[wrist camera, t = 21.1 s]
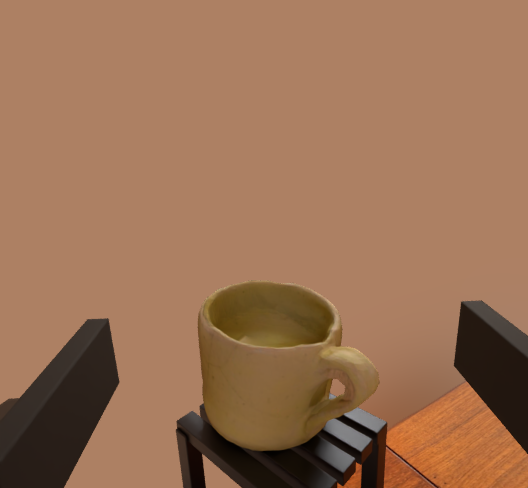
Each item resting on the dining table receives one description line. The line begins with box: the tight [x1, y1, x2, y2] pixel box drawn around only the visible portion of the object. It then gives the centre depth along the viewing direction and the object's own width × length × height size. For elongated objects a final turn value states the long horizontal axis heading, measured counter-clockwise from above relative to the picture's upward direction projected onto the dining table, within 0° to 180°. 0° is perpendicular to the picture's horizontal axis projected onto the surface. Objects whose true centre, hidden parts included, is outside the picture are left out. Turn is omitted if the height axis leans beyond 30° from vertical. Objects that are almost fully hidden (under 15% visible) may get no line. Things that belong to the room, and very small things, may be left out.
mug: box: [198, 280, 379, 451], centre depth 26 cm, size 12×10×10 cm
